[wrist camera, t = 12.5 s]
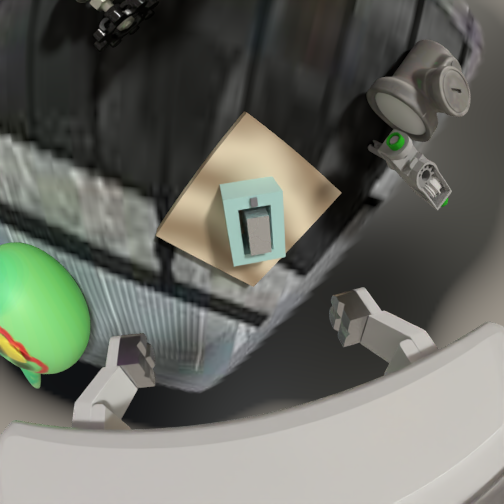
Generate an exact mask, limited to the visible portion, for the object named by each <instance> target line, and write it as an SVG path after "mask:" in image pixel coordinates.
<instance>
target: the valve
mask: <svg viewBox="0 0 504 504" xmlns="http://www.w3.org/2000/svg"><path fill="white" fill-rule="evenodd" d="M76 1H77V2H78V3H83V2H86V1H91V2H90V4H91V5H92V6H93V7H94V8H95V9H96V10H98V11H99V12H101V11H103V10H104V11H105V14H104V16H103V18H104V19H102V20H101V22H100V23H99V26H98V30H97V31H96V32H95V33H94V34H93V38H94V39H95V40H96V42H95V43H94V47H95V48H96V49H97V50H98V51H99V52H102V51H103V50H105V49H106V48H107V47H108V45H110V46H111V47H116V46H117V45H118V44H119V43H120V42H121V41H122V38H123V37H124V36H125V35H127V34H128V33H129V34H130V35H132V34H134V33H135V32H136V31H137V30H138V29H139V26H138V24H139V23H140V22H142V21H143V20H147V19H149V18H150V17H152V16H153V15H154V11H153V10H152V9H153V8H154V7H156V6H157V5H158V3H159V1H158V0H148V2H147V1H146V0H125V1H123V2H122V3H117V4H115V5H114V4H113V3H112V2H113V1H114V0H76ZM128 5H130V6H131V7H130V8H128V9H127V8H126V7H127V6H128ZM138 12H139V13H138ZM135 13H138V15H137V16H136V18H135V19H134V18H133V17H132V16H131V15H133V14H135ZM107 23H109V25H108V27H107V28H105V25H106V24H107ZM116 28H117V29H118V30H120V31H119V32H117V33H115V34H113V32H114V30H115V29H116Z"/></svg>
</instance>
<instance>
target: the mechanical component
mask: <svg viewBox="0 0 504 504" xmlns="http://www.w3.org/2000/svg"><path fill="white" fill-rule="evenodd" d="M373 142H374V146H373V145H372V144H370V145H369V146H368V150H369V151H370V152H372V153H374V154H375V155H377V156H379V157H381V158H383V159H384V160H386V162H387V165H388V166H389V168H391V169H393V170H395V171H396V172H397V173H398V174H399V175H400V176H401V177H402V178H403V180H404V181H405V182H406V183H407V184H408V185H409V186H410V187H411V189H412V190H413V191H414V192H415V193H416V194H417V195H419V196H420V197H421V198H422V199H423V200H425V201H426V202H427V203H429V204H430V205H431V206H432V207H434V208H435V209H436V210H438V209H439V208H440V207H443V206H445V205H446V204H447V201H448V198H447V197H448V196H449V195H450V193H451V192H452V191H451V189H450V188H449V186H448V184H447V183H446V181H445V180H444V178H443V177H442V175H441V174H440V173H439V171H438V168H437V166H436V164H435V163H433V162H431V161H430V160H428V159H426V158H425V156H424V155H423V154H422V153H420V152H418V151H417V150H416V149H415V147H414V146H413V145H412V140H411V139H410V137H409V136H408V135H407V134H406V133H403V132H401V131H398V130H396V129H393V130H392V132H391V133H390V134H389V136H388V137H387V138H386V140H385V141H384V142H383V144H382V143H380V142H378V141H376V140H373Z"/></svg>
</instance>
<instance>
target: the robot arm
mask: <svg viewBox="0 0 504 504" xmlns="http://www.w3.org/2000/svg"><path fill="white" fill-rule="evenodd" d="M331 303H332V304H333V306H332V307H331V308H330V314H329V315H330V321H331V324H332V326H333V328H334V329H335V330H337V331H339V332H338V338H339V339H340V341H341V343H342V345H343V347H346V346H349V345H353V344H356V343H359V342H360V343H361V344H362V345H364V346H365V347H367V348H368V349H370V350H371V351H372V352H374V353H375V354H377V355H378V356H380V357H381V358H383V359H384V360H385V361H387V362H389V363H390V364H389V366H388V368H387V370H386V371H385V373H384V375H385V376H382V377H380V378H377V379H375V380H372V381H370V382H368V383H365V384H362V385H359V386H357V387H354V388H352V389H349V390H346V391H343V392H340V393H337V394H334V395H331V396H328V397H324V398H322V399H318V400H315V401H311V402H308V403H305V404H301V405H297V406H293V407H290V408H286V409H282V410H278V411H274V412H270V413H265V414H260V415H255V416H251V417H245V418H241V419H235V420H229V421H223V422H217V423H210V424H202V425H194V426H185V427H174V428H160V429H141V430H131V428H130V427H129V426H128V425H127V424H125V423H124V422H123V421H122V420H121V418H122V417H123V415H124V413H125V411H126V409H127V407H128V406H129V404H130V402H131V400H132V398H133V397H134V395H135V393H136V391H137V388H143V387H152V386H155V372H154V371H153V369H152V368H153V367H154V366H155V355H154V351H153V348H152V346H151V345H150V344H149V343H147V337H146V336H145V334H144V333H140V334H130V335H122V336H112V337H111V338H110V341H109V347H108V353H107V360H106V367H103V368H102V369H101V370H100V371H99V373H98V374H97V375H96V377H95V378H94V379H93V380H92V382H91V383H90V384H89V385H88V387H87V388H86V389H85V390H84V392H83V393H82V394H81V396H80V397H79V398H78V400H77V401H76V402H75V405H74V413H73V421H72V428H68V427H58V426H50V425H42V424H36V423H29V422H23V421H17V420H15V421H12V422H11V423H10V424H9V425H8V426H7V427H6V429H5V430H4V431H3V433H2V434H1V436H0V504H504V327H503V326H501V325H499V324H496V323H493V322H485V323H484V324H482V325H480V326H479V327H477V328H476V329H474V330H472V331H471V332H469V333H467V334H466V335H464V336H462V337H461V338H459V339H458V340H456V341H454V342H452V343H450V344H449V345H447V346H445V347H443V348H441V349H438V348H437V347H436V345H435V344H434V342H433V341H432V340H431V338H430V337H429V335H428V334H427V332H426V331H425V330H423V329H421V328H419V327H417V326H415V325H413V324H411V323H409V322H407V321H405V320H403V319H401V318H398V317H396V316H395V315H392V314H390V313H388V312H386V311H381V310H380V308H379V307H378V305H377V304H376V303H375V301H374V300H373V298H372V297H371V296H370V294H369V293H368V292H367V290H366V289H365V288H364V287H362V288H359V289H355V290H351V291H347V292H344V293H340V294H337V295H333V296H332V299H331Z"/></svg>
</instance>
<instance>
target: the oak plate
mask: <svg viewBox="0 0 504 504" xmlns="http://www.w3.org/2000/svg"><path fill="white" fill-rule="evenodd" d="M271 176H272V177H273V178H274V179H275V181H276V182H277V184H278V185H279V186H280V188H281V189H282V191H283V206H284V229H285V253H286V252H287V251H288V250H289V249H290V248H291V247H292V246H293V245H294V244H295V243H296V242H297V241H298V239H299V238H300V237H301V236H302V235H303V234H304V233H305V232H306V231H307V230H308V229H309V228H310V227H311V226H312V225H313V223H314V222H315V221H316V220H317V219H318V218H319V217H320V216H321V215H322V214H323V213H324V212H325V210H326V209H327V208H328V207H329V206H330V205H331V204H332V203H333V202H334V201H335V200H336V199H337V197H338V196H339V195H340V194H341V192H340V191H339V190H338V189H337V188H336V187H335V186H334V185H333V184H332V183H330V182H329V181H328V180H327V179H326V178H325V177H324V176H323V175H322V174H321V173H320V172H318V171H317V170H316V169H315V168H314V167H313V166H312V165H311V164H309V163H308V162H307V161H306V160H305V159H304V158H303V157H301V156H300V155H299V154H298V153H297V152H296V151H294V150H293V149H292V148H291V147H290V146H288V145H287V144H286V143H285V142H284V141H282V140H281V139H280V138H279V137H277V136H276V135H275V134H274V133H272V132H271V131H270V130H269V129H267V128H266V127H265V126H264V125H262V124H261V123H260V122H258V121H257V120H256V119H255V118H253V117H252V116H251V115H249V114H248V113H247V112H245V111H244V112H243V113H242V115H241V116H240V117H239V118H238V119H237V121H236V122H235V123H234V124H233V126H232V127H231V128H230V129H229V130H228V132H227V133H226V134H225V135H224V137H223V138H222V139H221V140H220V142H219V143H218V144H217V146H216V147H215V148H214V149H213V151H212V152H211V153H210V155H209V156H208V157H207V159H206V160H205V161H204V163H203V164H202V165H201V167H200V168H199V169H198V171H197V172H196V173H195V175H194V176H193V178H192V179H191V180H190V182H189V183H188V185H187V186H186V187H185V189H184V190H183V192H182V193H181V194H180V196H179V197H178V199H177V200H176V202H175V203H174V205H173V206H172V207H171V209H170V210H169V212H168V213H167V215H166V216H165V218H164V219H163V221H162V222H161V224H160V225H159V227H158V229H157V232H156V236H157V237H159V238H161V239H163V240H165V241H167V242H168V243H170V244H172V245H174V246H176V247H178V248H180V249H182V250H183V251H185V252H187V253H189V254H191V255H193V256H195V257H197V258H199V259H200V260H202V261H204V262H206V263H208V264H210V265H212V266H214V267H216V268H218V269H220V270H222V271H224V272H226V273H227V274H229V275H231V276H233V277H235V278H237V279H239V280H241V281H243V282H245V283H247V284H249V285H251V286H253V287H254V286H255V285H256V284H257V282H258V281H259V280H260V279H261V278H262V277H263V276H264V275H265V274H266V273H267V272H268V271H269V270H270V269H271V268H272V267H273V266H274V265H275V264H276V263H277V262H278V261H279V260H280V259H281V258H277V259H272V260H267V261H261V262H256V263H251V264H245V265H240V266H234V264H233V259H232V254H231V249H230V244H229V238H228V232H227V226H226V220H225V214H224V208H223V202H222V196H221V190H220V184H225V183H231V182H237V181H244V180H250V179H257V178H264V177H271ZM238 214H239V221H240V228H241V234H243V233H244V230H243V222H242V215H241V210H238Z"/></svg>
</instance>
